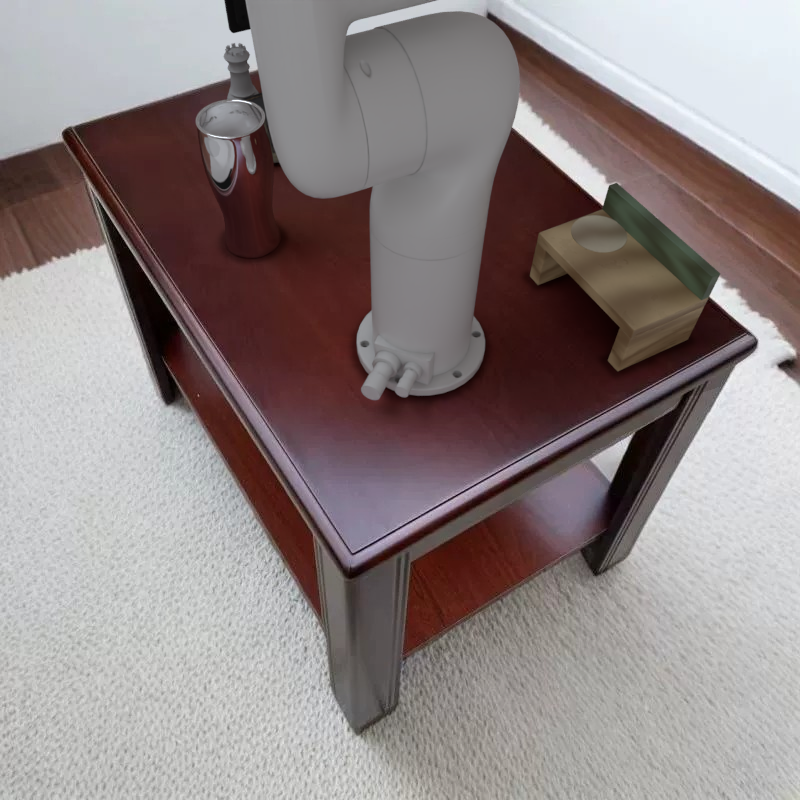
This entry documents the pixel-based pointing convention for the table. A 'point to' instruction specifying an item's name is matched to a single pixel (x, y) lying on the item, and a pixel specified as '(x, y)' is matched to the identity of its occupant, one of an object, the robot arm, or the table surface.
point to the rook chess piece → (239, 72)
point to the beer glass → (240, 173)
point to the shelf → (630, 274)
